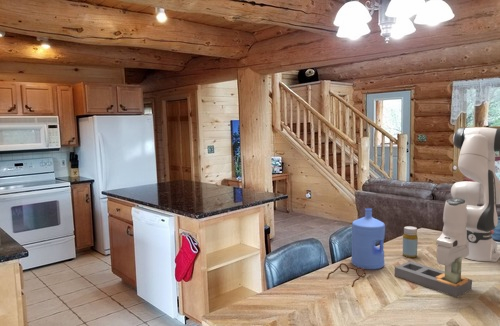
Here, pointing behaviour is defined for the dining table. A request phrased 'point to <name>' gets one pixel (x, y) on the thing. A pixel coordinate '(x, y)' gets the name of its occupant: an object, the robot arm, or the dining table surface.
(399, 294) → the dining table surface
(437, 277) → the board
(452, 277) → the peg
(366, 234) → the water jug
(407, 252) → the lidded canister
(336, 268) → the glasses
